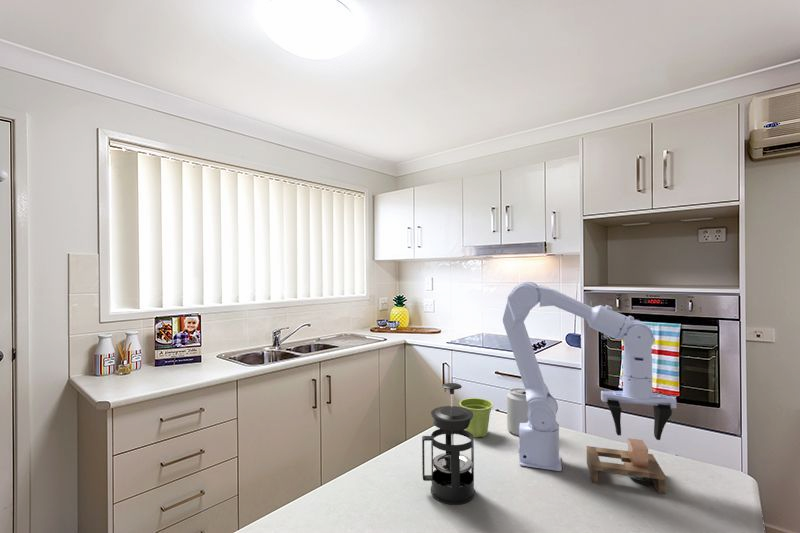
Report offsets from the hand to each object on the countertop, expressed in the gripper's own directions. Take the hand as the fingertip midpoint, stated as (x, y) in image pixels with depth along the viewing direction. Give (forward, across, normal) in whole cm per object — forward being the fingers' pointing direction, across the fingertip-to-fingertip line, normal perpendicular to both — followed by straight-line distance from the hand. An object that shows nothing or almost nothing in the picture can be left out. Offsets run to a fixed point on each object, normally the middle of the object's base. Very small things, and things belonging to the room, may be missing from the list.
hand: (637, 435), depth 91 cm
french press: (+10, +39, +18) cm, 44 cm away
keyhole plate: (+10, +3, 0) cm, 10 cm away
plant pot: (+10, +38, -14) cm, 42 cm away
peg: (+9, 0, 0) cm, 9 cm away
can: (+10, +26, -19) cm, 34 cm away
